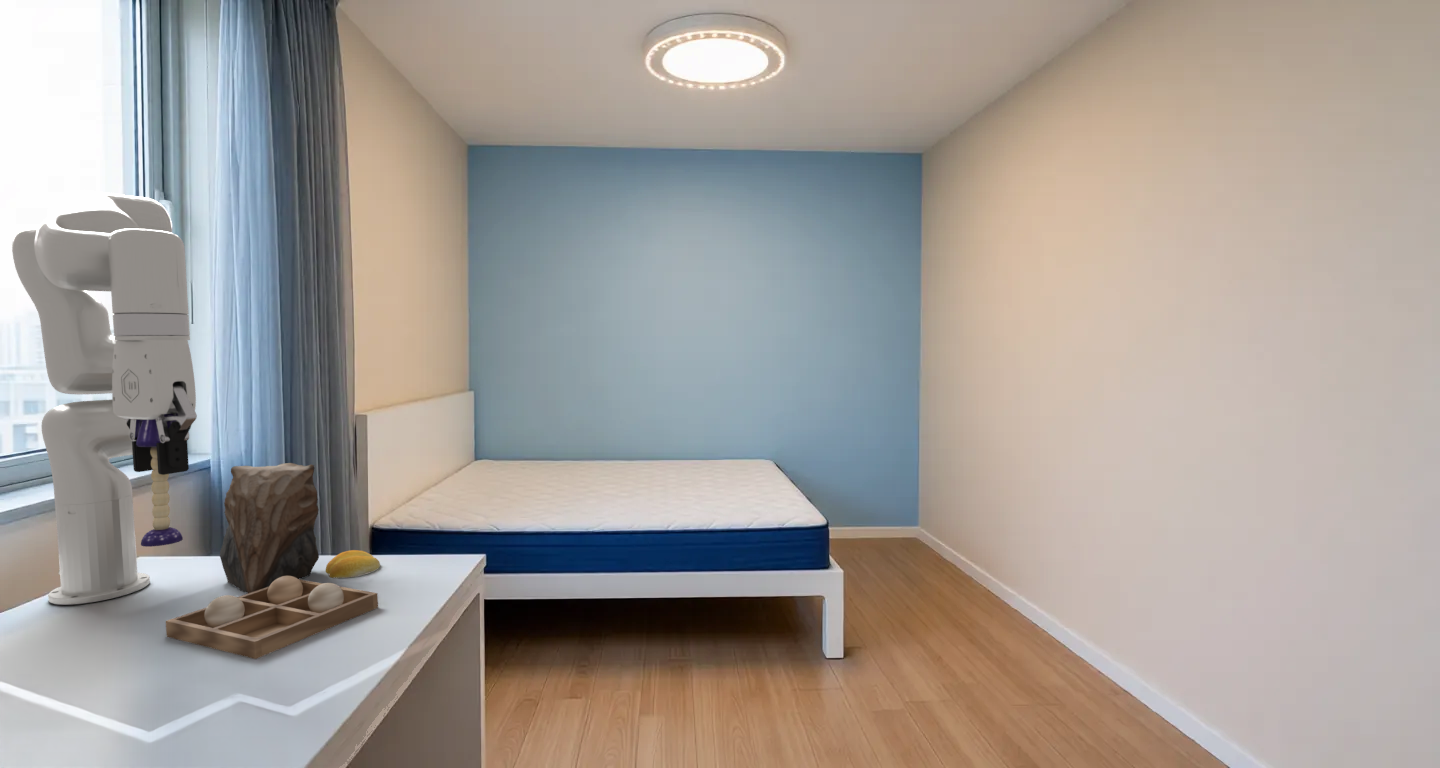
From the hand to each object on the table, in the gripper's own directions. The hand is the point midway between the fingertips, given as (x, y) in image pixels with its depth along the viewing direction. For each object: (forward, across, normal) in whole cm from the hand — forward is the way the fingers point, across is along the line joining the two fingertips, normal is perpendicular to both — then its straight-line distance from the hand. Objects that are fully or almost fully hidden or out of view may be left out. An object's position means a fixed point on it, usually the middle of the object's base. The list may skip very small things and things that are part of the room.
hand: (161, 469), depth 90 cm
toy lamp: (+10, 0, 0) cm, 10 cm away
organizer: (+24, +4, +12) cm, 27 cm away
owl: (+25, -16, +22) cm, 37 cm away
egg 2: (+24, -1, +16) cm, 28 cm away
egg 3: (+24, +8, +16) cm, 30 cm away
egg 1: (+24, -1, +7) cm, 25 cm away
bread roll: (+25, -7, +32) cm, 41 cm away
